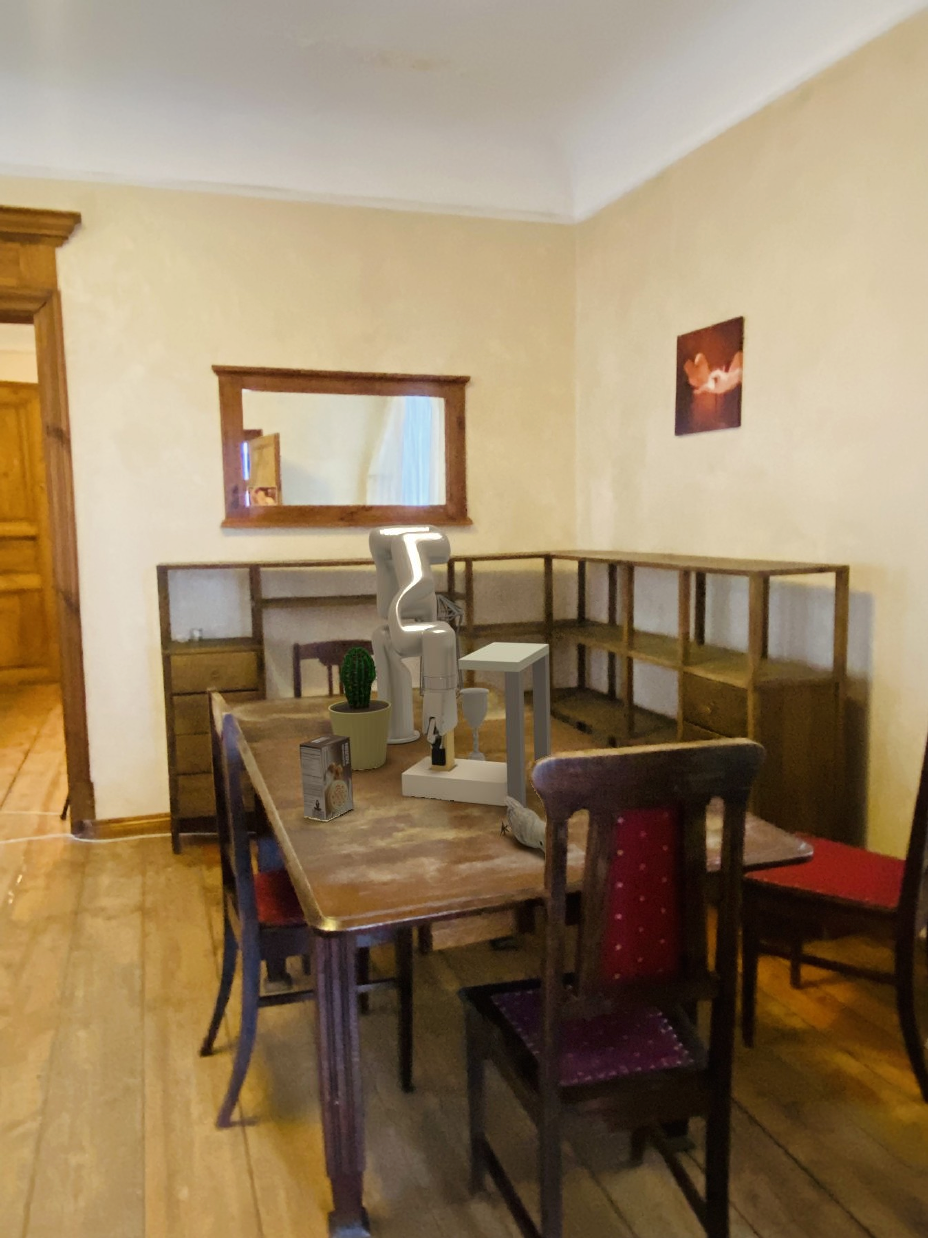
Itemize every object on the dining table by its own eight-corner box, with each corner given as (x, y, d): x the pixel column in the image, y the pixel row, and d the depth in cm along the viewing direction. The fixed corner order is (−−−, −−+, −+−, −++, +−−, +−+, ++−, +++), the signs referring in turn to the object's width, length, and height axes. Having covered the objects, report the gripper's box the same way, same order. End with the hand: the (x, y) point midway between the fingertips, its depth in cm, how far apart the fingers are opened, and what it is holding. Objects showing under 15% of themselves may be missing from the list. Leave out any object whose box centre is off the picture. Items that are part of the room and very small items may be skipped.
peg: (432, 781, 205) (430, 729, 203) (438, 776, 209) (437, 725, 207) (448, 783, 204) (446, 731, 202) (455, 778, 207) (453, 726, 206)
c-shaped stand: (463, 808, 193) (458, 659, 189) (497, 777, 213) (494, 642, 209) (521, 814, 188) (518, 662, 184) (551, 782, 209) (548, 644, 204)
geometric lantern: (466, 710, 279) (463, 596, 274) (415, 711, 280) (410, 598, 275) (467, 698, 295) (463, 591, 290) (418, 700, 295) (414, 592, 290)
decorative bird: (539, 863, 164) (539, 823, 163) (495, 835, 178) (494, 798, 177) (565, 857, 167) (564, 818, 166) (519, 830, 181) (518, 793, 180)
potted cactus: (319, 770, 223) (313, 649, 219) (348, 753, 237) (343, 639, 233) (376, 775, 218) (371, 651, 213) (403, 757, 232) (398, 640, 228)
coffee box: (331, 805, 198) (327, 732, 196) (354, 809, 195) (351, 736, 192) (302, 818, 190) (298, 743, 188) (326, 823, 187) (322, 747, 185)
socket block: (402, 795, 203) (401, 773, 202) (427, 776, 215) (427, 756, 215) (505, 806, 194) (504, 783, 193) (525, 785, 207) (524, 764, 206)
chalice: (494, 759, 228) (492, 688, 225) (486, 767, 221) (484, 694, 219) (466, 757, 230) (464, 687, 228) (458, 765, 224) (455, 693, 221)
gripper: (439, 674, 212) (441, 750, 215) (409, 689, 197) (412, 771, 199) (469, 675, 209) (471, 753, 212) (441, 691, 194) (444, 774, 197)
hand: (442, 761), depth 206 cm, fingers closed on peg, 3 cm apart
